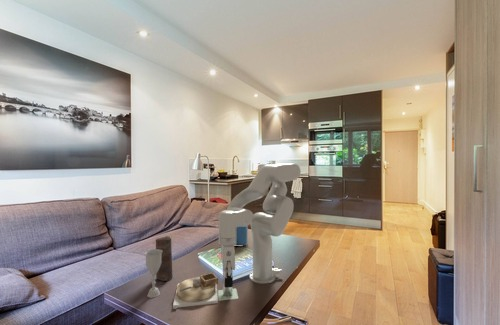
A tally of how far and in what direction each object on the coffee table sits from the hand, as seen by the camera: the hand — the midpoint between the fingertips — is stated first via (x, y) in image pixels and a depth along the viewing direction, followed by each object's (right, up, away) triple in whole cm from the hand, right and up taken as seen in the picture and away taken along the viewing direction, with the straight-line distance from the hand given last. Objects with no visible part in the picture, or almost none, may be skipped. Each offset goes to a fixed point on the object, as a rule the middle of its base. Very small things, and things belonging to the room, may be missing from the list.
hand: (227, 281), depth 100 cm
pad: (0, -6, 0) cm, 6 cm away
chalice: (-32, -6, +1) cm, 32 cm away
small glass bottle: (0, -5, 0) cm, 5 cm away
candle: (-32, -6, +15) cm, 36 cm away
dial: (-13, -4, +1) cm, 14 cm away
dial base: (-13, -6, +1) cm, 15 cm away
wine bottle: (+1, -7, +64) cm, 65 cm away
